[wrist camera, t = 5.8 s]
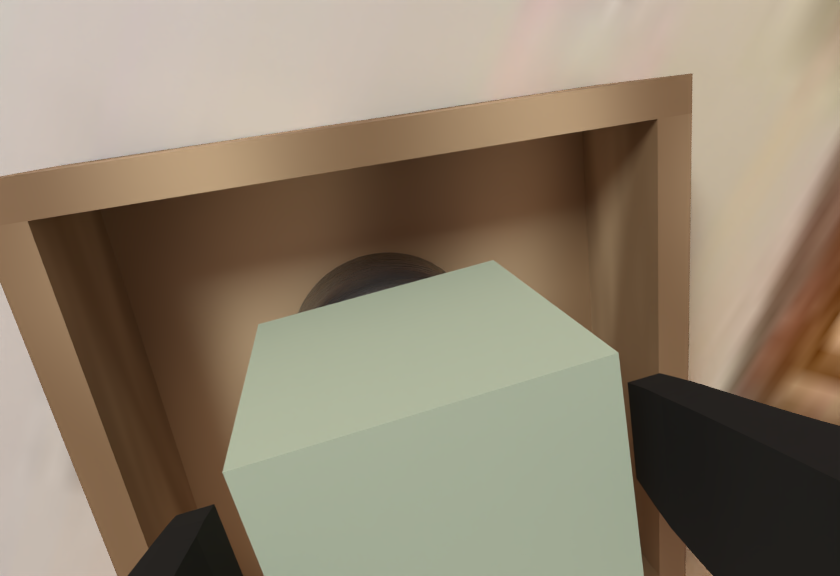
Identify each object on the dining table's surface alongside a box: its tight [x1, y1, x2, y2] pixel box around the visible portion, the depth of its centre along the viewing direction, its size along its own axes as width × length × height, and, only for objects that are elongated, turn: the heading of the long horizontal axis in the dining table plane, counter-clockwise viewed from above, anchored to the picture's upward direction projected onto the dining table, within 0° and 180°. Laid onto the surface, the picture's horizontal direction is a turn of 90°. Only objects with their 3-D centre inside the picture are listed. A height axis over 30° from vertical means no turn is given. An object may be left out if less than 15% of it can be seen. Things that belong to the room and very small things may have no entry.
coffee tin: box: [298, 252, 446, 313], centre depth 14 cm, size 5×5×4 cm
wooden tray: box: [0, 74, 692, 576], centre depth 15 cm, size 14×14×4 cm
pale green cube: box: [222, 260, 644, 576], centre depth 10 cm, size 5×5×5 cm
